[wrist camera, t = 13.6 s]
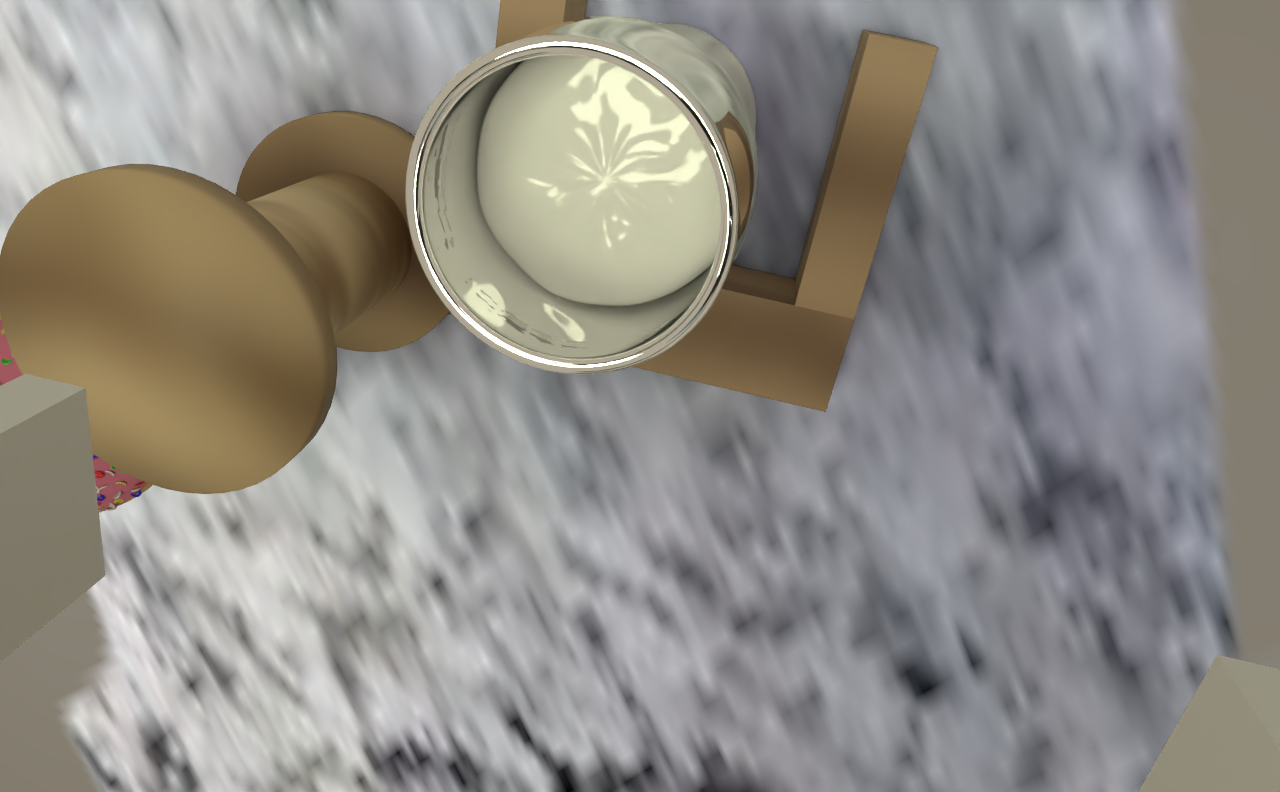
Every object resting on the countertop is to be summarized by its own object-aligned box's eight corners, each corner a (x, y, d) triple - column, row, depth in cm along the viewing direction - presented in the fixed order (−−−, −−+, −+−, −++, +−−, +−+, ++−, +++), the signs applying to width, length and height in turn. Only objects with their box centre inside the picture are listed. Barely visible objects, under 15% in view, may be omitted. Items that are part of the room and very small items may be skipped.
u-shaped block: (823, 377, 33) (825, 411, 31) (492, 301, 34) (467, 327, 32) (924, 42, 28) (937, 47, 26) (531, -38, 29) (504, -42, 26)
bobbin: (461, 364, 36) (315, 526, 25) (250, 315, 36) (19, 451, 25) (483, 139, 32) (322, 215, 21) (247, 87, 32) (-27, 136, 22)
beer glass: (530, 82, 31) (323, 152, 17) (704, -37, 28) (622, -63, 15) (635, 253, 33) (523, 437, 19) (806, 155, 30) (815, 287, 17)
